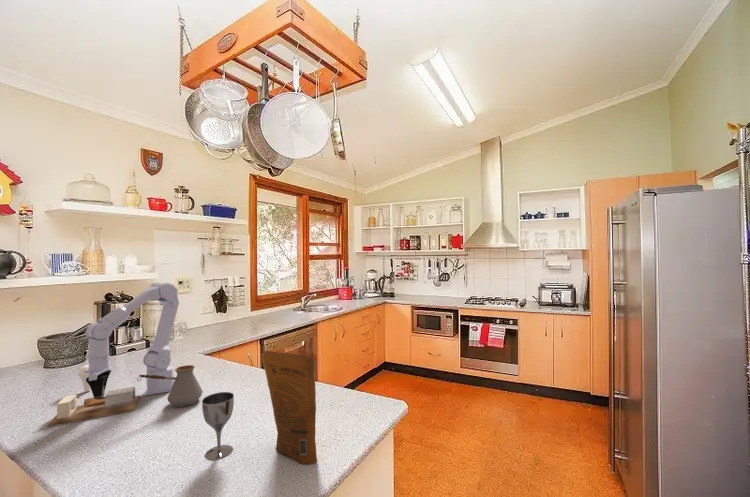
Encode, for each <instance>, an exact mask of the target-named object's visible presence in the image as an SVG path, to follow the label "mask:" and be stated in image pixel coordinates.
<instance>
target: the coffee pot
mask: <svg viewBox="0 0 750 497" xmlns="http://www.w3.org/2000/svg"><path fill="white" fill-rule="evenodd" d="M195 368H196V367H195V365H193V364H189V365H187V364H186V365H182V366H178V367H177V368H175V370H174V372H175V373H176V376H174V377H165V376H158V375H148V374H147V373H146V374H139V375H138V376H137V377H136V381H137V382H139V381H141V380H142V378H145V379H147V378H152V379H170V380H174V384H173V386H172V388H171V391H169V392H168V396H167V402H168V403H170V404H171V405H173V406H174V408H175V407H177V408H182V407H188V406H190V405H193V404H195V403H196V402H198V400H199V399H200V398H201V397H202V395H203V392H204V390H203V388H202V387H201V385H200V383H199V381H198V379H197V377H196V376H195V374H194V369H195ZM139 377H140V379H139Z"/></svg>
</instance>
